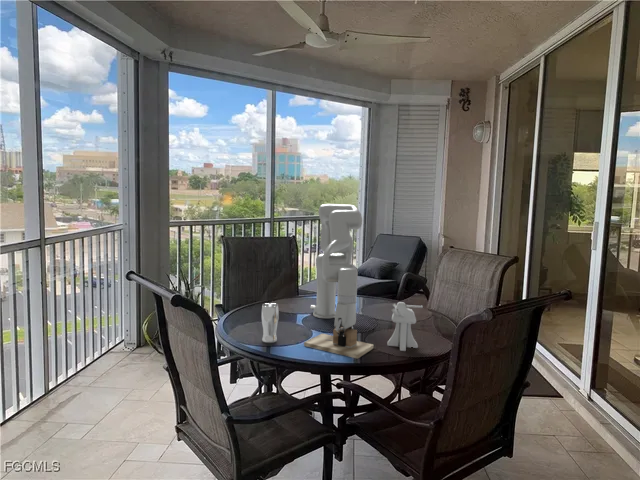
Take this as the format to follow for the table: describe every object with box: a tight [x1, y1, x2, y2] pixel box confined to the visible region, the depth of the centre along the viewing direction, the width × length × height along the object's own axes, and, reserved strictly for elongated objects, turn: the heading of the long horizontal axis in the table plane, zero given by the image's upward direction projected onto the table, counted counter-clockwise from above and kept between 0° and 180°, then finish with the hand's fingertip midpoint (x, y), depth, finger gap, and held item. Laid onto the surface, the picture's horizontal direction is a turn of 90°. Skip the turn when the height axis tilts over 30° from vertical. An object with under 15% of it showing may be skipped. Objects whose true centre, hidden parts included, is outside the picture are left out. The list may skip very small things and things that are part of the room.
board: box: [303, 333, 375, 359], centre depth 176 cm, size 24×14×2 cm, turn 59°
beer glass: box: [261, 302, 280, 344], centre depth 181 cm, size 7×7×15 cm
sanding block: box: [332, 326, 358, 348], centre depth 174 cm, size 8×5×6 cm, turn 58°
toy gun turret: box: [386, 301, 424, 352], centre depth 179 cm, size 12×13×18 cm
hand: (345, 343), depth 174 cm, fingers closed on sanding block, 5 cm apart
